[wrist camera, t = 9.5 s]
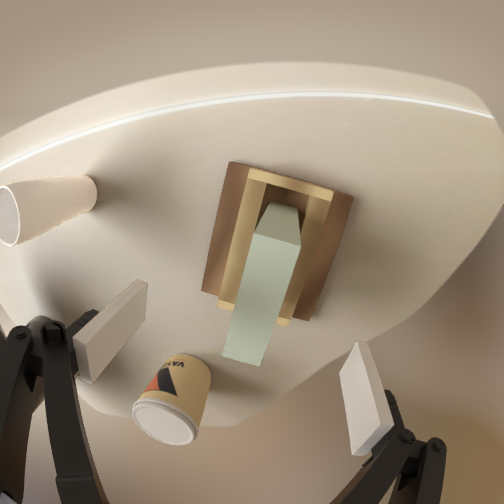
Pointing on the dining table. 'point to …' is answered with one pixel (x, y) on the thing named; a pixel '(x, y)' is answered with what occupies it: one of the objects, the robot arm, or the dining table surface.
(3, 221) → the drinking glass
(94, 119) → the dining table surface
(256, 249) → the door panel
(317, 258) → the track board
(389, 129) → the dining table surface
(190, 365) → the coffee cup
